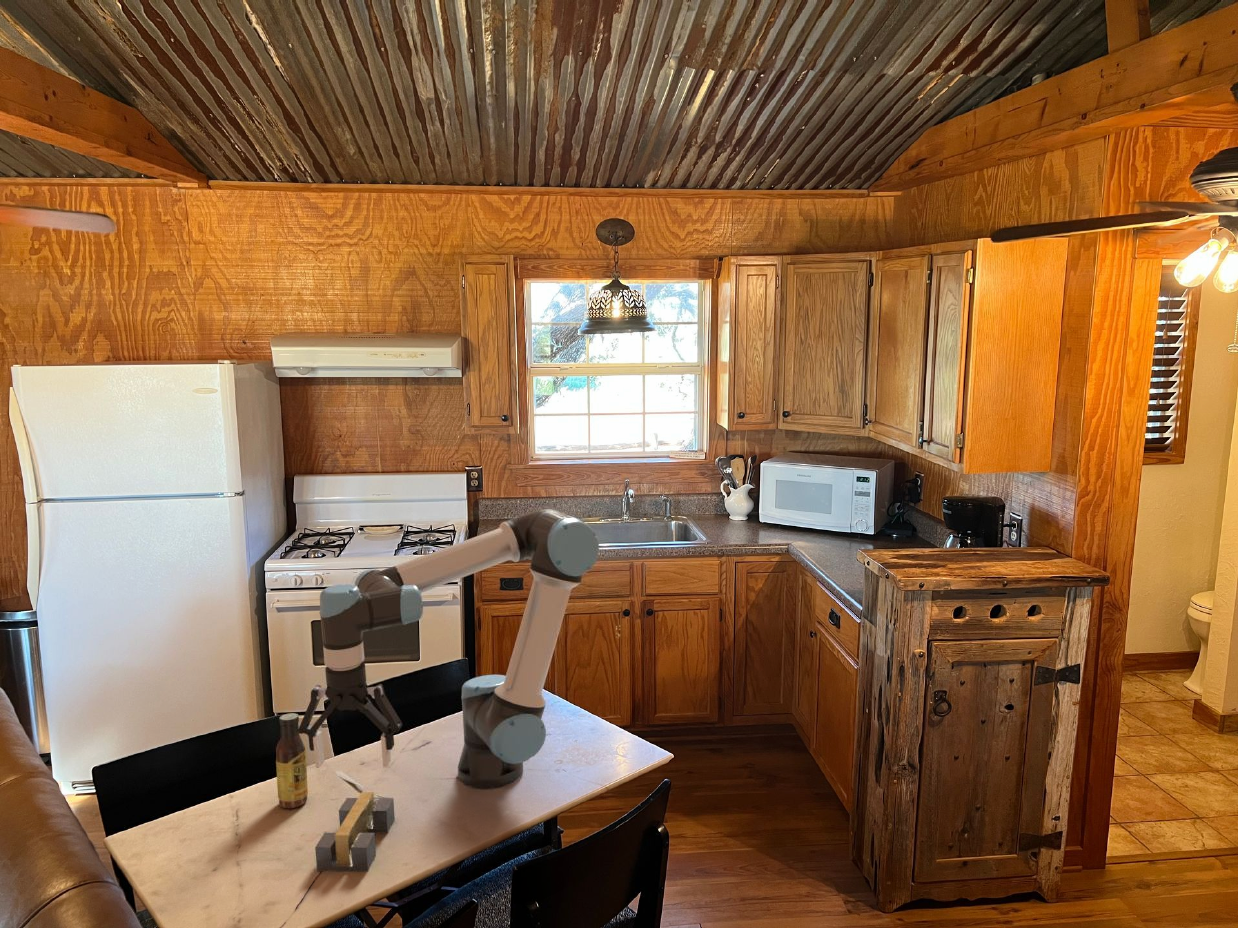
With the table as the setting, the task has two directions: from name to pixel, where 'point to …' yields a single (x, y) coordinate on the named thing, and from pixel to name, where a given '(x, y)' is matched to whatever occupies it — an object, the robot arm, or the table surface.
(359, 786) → the fork
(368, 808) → the link bar
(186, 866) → the table surface
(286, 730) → the sauce bottle
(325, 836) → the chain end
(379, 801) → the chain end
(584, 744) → the table surface
